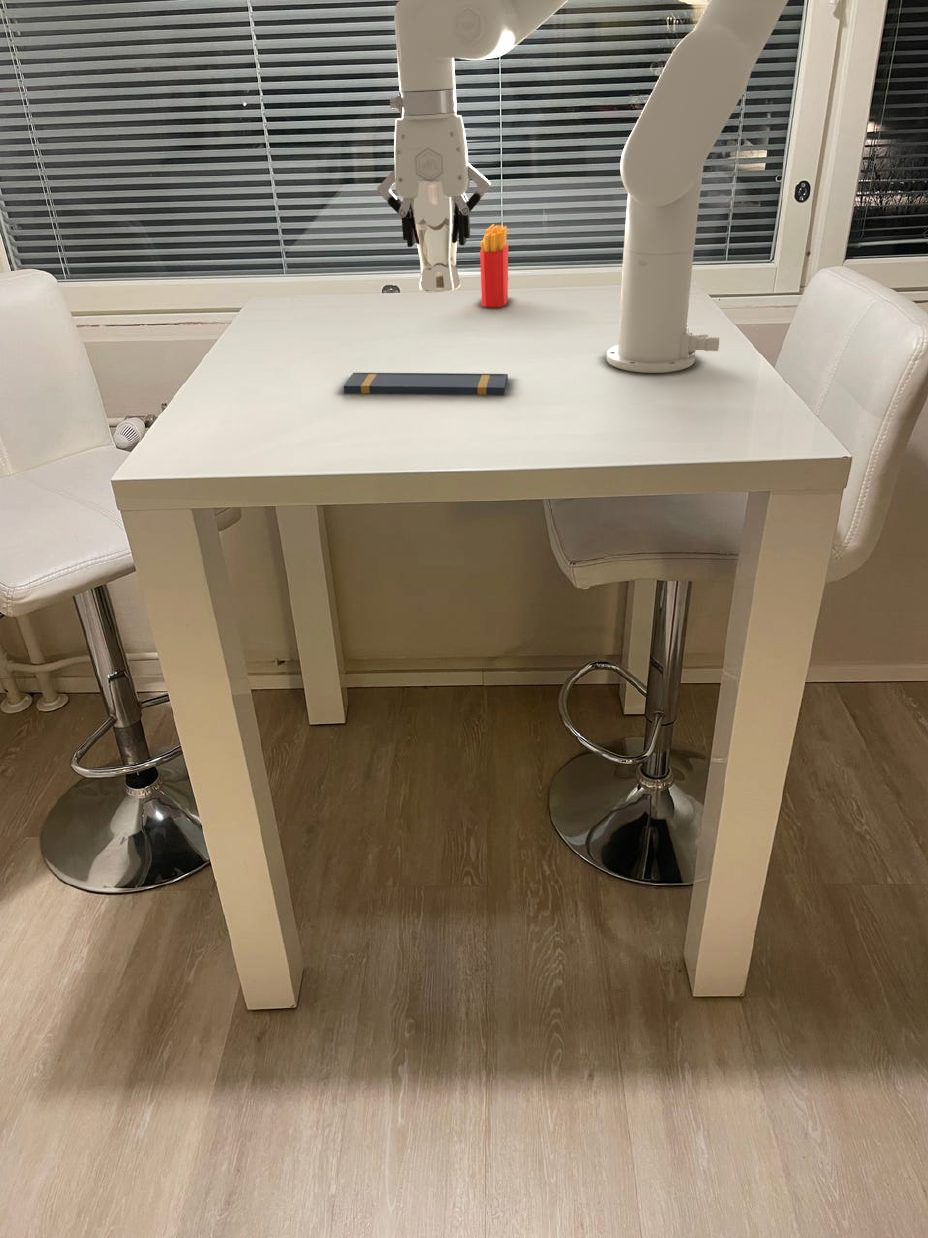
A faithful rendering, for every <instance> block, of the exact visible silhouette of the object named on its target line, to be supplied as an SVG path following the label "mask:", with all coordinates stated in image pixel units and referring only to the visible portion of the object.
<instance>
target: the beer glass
mask: <svg viewBox="0 0 928 1238" xmlns="http://www.w3.org/2000/svg"><path fill="white" fill-rule="evenodd" d="M441 181H442V180H433V181H418V182H419V189H418V196H417V197H416V198H414V199H411V205H410V206H411V218H412V225H413V230H414V235H415V239H416V243H415V244H416V247H417V251H418V256H419V262H420V277H419V290H420V291H421V292H424V293H429V294H430V293H431V294H434V293H435V294H438V293H439V294H441V293H447V292H449V293H450V292H453V291H456V290H459V289H460V288H461V281H460V277H459V271H458V266H457V265H458V264H457V251H458V244H459V235H458V216H459V211H460V209H459V207H458V206H457V204H456V202H455V197H447V196H445V195H444V192H443V188H442V182H441Z"/></svg>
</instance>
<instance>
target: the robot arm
mask: <svg viewBox="0 0 928 1238" xmlns="http://www.w3.org/2000/svg"><path fill="white" fill-rule="evenodd" d="M568 1H569V0H398V1H397V2H396V5H395V7H394V11H393V12H394V13H393V16H394V17H393V18H394V21H393V22H394V31H395V45H396V58H397V73H398V86H399V92H398V95H397V96H395V97H390V98H389V107H390V110H396V111H398V112H399V113H400V115H401V118H396V119H395V126H394V149H393V150H394V151H393V152H394V158H393V159H394V169H393V170H392V171H391V172H390V173H389V174H388V175H387V176H386V178H385V179H384V180H383V181H382V182H381V183H380V184H379V185H378V186H377V189H376V190H377V192H378V194H379V195H380V196H381V197H382V198H383V199H384V200H385V201H386V202H387V204H388V205H389V206H390V208H392V210H394V211H395V212H396V213H397V214H398V217H400V218H401V228H402V239H403V241H406V245H407V248H412V247H413V246H414V245H415V244H417V243H416V239H415V235H414V230H413V225H412V218H411V206H410V205H411V199H414V198H416V197H417V196H418V189H419V182H418V181H433V180H442V181H441V182H442V188H443V192H444V195H445V196H447V197H455V202H456V204H457V206H458V207H459V216H458V245H459V246H465V245H466V244H467V239H470V238H471V223H470V220H471V219H470V213H471V211H472V210H473V209H474V208H475V207H476V206H477V204H478V203H479V202H480V201H481V200H482V198H483V197H484V195H485V194H486V192H488V189H489V188H490V187H491V182H490V180H488V178H486V177H485V176H484V175H483V174H482V173H480V172H479V171H478V170H477V169H476V168H475V167H473V166H472V165H471V163H470V162H469V154H468V153H469V152H468V146H467V145H468V143H467V138H466V131H465V125H464V121H463V117H462V115H461V114H457V112H458V111H457V93H456V73H455V59H460V60H469V61H482V60H487V59H494V58H495V59H496V58H499V57H502V56H503V55H505V54H507V53H509V52H510V51H511V50H513V49H514V48H515V47H516V46H518V45H519V44H520V43H521V42H523V41H524V39H526V38H527V37H528V36H530V35H531V34H532V33H533V32H534V31H536V30H537V29H539V27H541V26H542V25H543V24H544V23H545V22H547V21H548V20H549V19H550V18H551V17H552V16H553V15H555V14H556V12H558V11H559V10H560V9H561V8H562V7H563V6H564V5H565V4H566V3H567V2H568ZM788 2H789V0H708V2H707V4H706V6H705V8H704V10H703V12H702V14H701V16H700V18H699V19H698V21H697V22H696V25H695V26H694V27H693V30H692V31H691V32H689V33H688V34H687V35H685V37H684V38H682V39H681V40H680V42H679V43H678V44H677V45H676V47H675V48H674V49H673V51H672V52H671V55H670V56H669V58H668V60H667V61H666V64H665V65H664V68H663V69H662V72H661V73H660V75H659V78H658V79H657V81H656V83H655V85H654V88H652V92H651V93H650V95H649V97H648V99H647V101H646V103H645V105H644V107H643V109H642V111H641V113H640V115H639V117H638V119H637V121H636V123H635V125H634V127H633V129H632V131H631V133H630V135H629V136H628V139H627V141H626V142H625V144H624V148H623V151H622V153H621V158H620V165H619V168H620V169H619V171H620V178H621V183H622V184H623V187H624V189H625V191H626V193H627V202H626V212H625V225H624V237H623V238H624V240H623V252H622V253H623V254H622V268H621V269H622V270H621V287H620V288H621V290H620V305H619V321H618V322H619V323H618V340H617V341H618V342H617V343H618V344H616V345H614V346H612V347H610V348H609V349H608V350H607V352H606V361H607V363H608V364H610V365H611V366H612V367H615V368H617V369H620V370H623V371H628V372H634V373H645V374H663V373H672V372H673V373H674V372H679V371H682V370H685V369H688V368H689V367H691V366H693V364H695V360H696V351H704V352H718V351H719V347H720V337H719V336H709V334H705V333H704V334H703V333H701V334H693V333H692V332H690V330H689V325H688V319H689V318H688V316H689V307H690V296H691V287H692V286H691V285H692V284H691V283H692V273H693V265H694V264H693V262H694V255H695V254H694V253H695V249H696V248H695V247H696V237H697V236H696V235H697V225H698V215H699V206H700V199H701V190H702V181H703V176H704V175H703V174H704V164H705V162H706V160H707V158H708V156H709V155H710V153H711V152H712V150H713V148H714V146H715V144H716V143H717V141H718V139H719V137H720V135H721V133H722V132H723V130H724V129H725V126H726V125H727V122H728V121H729V119H730V117H731V116H732V114H733V112H734V110H735V109H736V106H737V105H738V103H739V101H740V99H741V98H742V96H743V94H744V92H745V90H746V88H747V86H748V83H749V80H750V79H751V74H752V72H753V69H754V67H755V65H756V64H757V63H756V62H757V61H758V59H759V57H760V55H761V53H762V51H763V49H764V48H765V46H766V44H767V42H768V40H769V39H770V37H771V35H772V33H773V31H774V29H775V27H776V25H777V23H778V22H779V19H780V17H781V15H782V13H783V11H784V9H785V8H786V6H787V4H788ZM470 181H472V182H473V183H475V184H476V186H477V188H476V190H475V191H474V192H473V194H472V195H471V196H470V197H469V198H468V197H467V195H466V192H467V190H469V187H470V183H471V182H470ZM394 184H395V192H396V194H397V195H398V196H399V197H401V198H403V199H402V200H401V199H400V198H399V197H398V196H397V195H395V194H394V193H393V191H392V186H393V185H394Z"/></svg>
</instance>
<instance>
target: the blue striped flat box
mask: <svg viewBox="0 0 928 1238" xmlns="http://www.w3.org/2000/svg"><path fill="white" fill-rule="evenodd" d="M508 381H509V374H508V373H466V372H465V373H463V372H461V373H460V372H459V373H457V372H455V373H453V372H451V373H449V372H442V373H441V372H352V373H351V375H350V376H349V377H348V379H347V380H346V382H345V383H344V385H343V393H344V394H400V395H401V394H405V395H407V394H409V395H411V394H413V395H415V394H416V395H480V396H481V395H483V396H484V395H485V396H486V395H491V396H493V395H495V396H496V395H497V396H499V395H500V396H501V395H502V396H504V395H505V393H506V389H507V385H508Z"/></svg>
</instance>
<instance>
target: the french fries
mask: <svg viewBox="0 0 928 1238" xmlns="http://www.w3.org/2000/svg"><path fill="white" fill-rule="evenodd" d="M507 235H508V227H507V225H505V226H504V225H503V224H498V225H495V223H493V224H492V225H490V226H489V227H488V228H487V229H485V234H484V236H483V239H482V240H481V241H480V249H479V263H480V288H481V290H480V291H481V306H482V307H484V308H501V307H504V306H505V305H506V304H507V303H508V300H509V243H507Z"/></svg>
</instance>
